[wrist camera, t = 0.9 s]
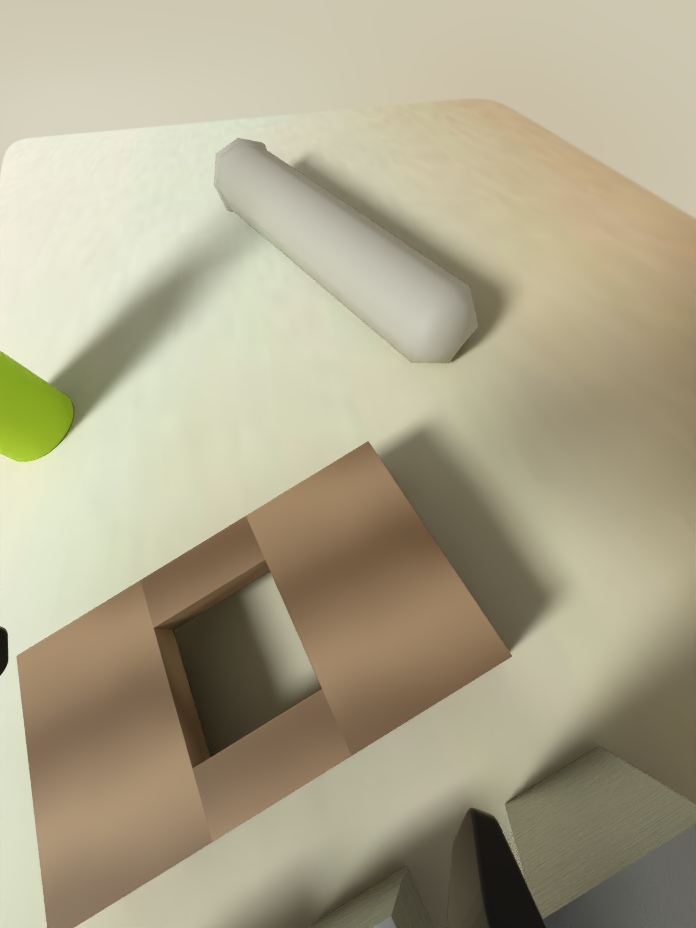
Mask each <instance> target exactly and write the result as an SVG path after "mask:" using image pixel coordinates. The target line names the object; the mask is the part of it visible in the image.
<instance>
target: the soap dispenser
mask: <svg viewBox="0 0 696 928" xmlns="http://www.w3.org/2000/svg"><path fill="white" fill-rule="evenodd" d="M73 414H74V409H73V404H72V402H71V400H70V398H69V397H68V396H66V395H65V394H63V393H62V392H60V391H59V390H58V389H56V388H55V387H53V386H52V385H50V384H49V383H47V382H46V381H44V380H43V379H41V378H40V377H38V376H37V375H35V374H34V373H32V372H31V371H29V370H28V369H26V368H25V367H23V366H22V365H20V364H19V363H18V362H16V361H15V360H13V359H12V358H10V357H9V356H7V355H6V354H4V353H3V352H1V351H0V454H3V455H5V456H7V457H9V458H11V459H14V460H16V461H20V462H27V461H32V460H35V459H38V458H40V457H42V456H44V455H46V454H47V453H49V452H50V451H51V450H52V449H54V448H55V447H56V446H57V445H58V444H59V443H60V442H61V440H62V439H63V438H64V436H65V435H66V433H67V432H68V430H69V428H70V425H71V423H72V420H73Z"/></svg>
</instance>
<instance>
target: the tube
mask: <svg viewBox="0 0 696 928" xmlns="http://www.w3.org/2000/svg"><path fill="white" fill-rule="evenodd" d="M214 186H215V188H216V190H217V192H218V194H219V196H220V198H221V199H222V201H223V203H224V205H225V207H226V209H227V210H228V211H230V212H235V213H236V214H238V215H239V216H240V217H241V218H242V219H243V220H245V221H246V222H247V223H248V224H249V225H251V226H252V227H253V228H254V229H255V230H256V231H258V232H259V233H260V234H261V235H262V236H263V237H265V238H266V239H267V240H268V241H269V242H270V243H272V244H273V245H274V246H275V247H276V248H277V249H279V250H280V251H281V252H282V253H283V254H285V255H286V256H287V257H288V258H289V259H290V260H292V261H293V262H294V263H295V264H296V265H297V266H299V267H300V268H301V269H302V270H303V271H304V272H306V273H307V274H308V275H309V276H310V277H311V278H313V279H314V280H315V281H316V282H317V283H319V284H320V285H321V286H322V287H323V288H324V289H326V290H327V291H328V292H329V293H330V294H331V295H333V296H334V297H335V298H336V299H337V300H338V301H340V302H341V303H342V304H343V305H344V306H345V307H347V308H348V309H349V310H350V311H351V312H352V313H354V314H355V315H356V316H357V317H358V318H360V319H361V320H362V321H363V322H364V323H365V324H367V325H368V326H369V327H370V328H371V329H372V330H374V331H375V332H376V333H377V334H378V335H379V336H381V337H382V338H383V339H384V340H385V341H386V342H388V343H389V344H390V345H391V346H392V347H394V348H395V349H396V350H397V351H398V352H399V353H401V354H402V355H403V356H404V357H405V358H406V359H408V360H409V361H410V362H411V363H449V362H450V361H451V360H452V358H453V357H454V356H455V354H456V353H457V352H458V351H459V349H460V348H461V347H462V345H463V344H464V343H465V342H466V341H467V339H468V338H469V337H470V336H471V335H472V333H473V332H474V331H475V330H476V329H477V328H478V322H477V316H476V311H475V306H474V302H473V297H472V293H471V289H470V286H468V285H467V284H465V283H464V282H462V281H461V280H459V279H458V278H456V277H455V276H453V275H452V274H450V273H449V272H447V271H446V270H444V269H443V268H441V267H440V266H438V265H437V264H435V263H434V262H433V261H431V260H430V259H428V258H427V257H425V256H424V255H422V254H421V253H419V252H418V251H416V250H415V249H413V248H412V247H410V246H409V245H407V244H406V243H404V242H403V241H401V240H400V239H398V238H397V237H395V236H394V235H392V234H391V233H389V232H388V231H386V230H385V229H383V228H382V227H380V226H379V225H377V224H376V223H374V222H373V221H371V220H370V219H368V218H367V217H366V216H364V215H363V214H361V213H360V212H358V211H357V210H355V209H354V208H352V207H351V206H349V205H348V204H346V203H345V202H343V201H342V200H340V199H339V198H337V197H336V196H334V195H333V194H331V193H330V192H328V191H327V190H325V189H324V188H322V187H321V186H319V185H318V184H316V183H315V182H313V181H312V180H310V179H309V178H307V177H306V176H304V175H303V174H302V173H300V172H299V171H297V170H296V169H294V168H293V167H291V166H290V165H288V164H287V163H285V162H284V161H282V160H281V159H279V158H278V157H276V156H275V155H273V154H272V153H270V152H269V151H267V149H266V146H265V144H263V143H261V142H256V141H251V140H246V139H241V138H237V139H236V140H234V141H233V142H232V143H230V144H229V145H228V146H226V147H225V148H223V149H222V150H221V151H219V152H218V153H216V161H215V176H214Z"/></svg>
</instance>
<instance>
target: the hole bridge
mask: <svg viewBox="0 0 696 928" xmlns="http://www.w3.org/2000/svg"><path fill="white" fill-rule="evenodd" d="M269 571H270V572H271V574H272V576H273V578H274V581H275V583H276V585H277V588H278V590H279V592H280V594H281V597H282V599H283V601H284V603H285V606H286V608H287V610H288V613H289V615H290V617H291V619H292V622H293V624H294V626H295V628H296V631H297V633H298V635H299V638H300V640H301V642H302V644H303V647H304V649H305V651H306V653H307V656H308V658H309V660H310V663H311V665H312V667H313V669H314V672H315V674H316V676H317V678H318V681H319V683H320V685H321V688H322V689H321V690H319V691H317V692H316V693H314V694H313V695H311V696H309V697H308V698H306V699H304V700H303V701H301V702H300V703H298V704H296V705H295V706H293V707H291V708H290V709H288V710H287V711H285V712H283V713H282V714H280V715H279V716H277V717H275V718H274V719H272V720H270V721H269V722H267V723H266V724H264V725H262V726H261V727H259V728H257V729H256V730H254V731H253V732H251V733H249V734H248V735H246V736H244V737H243V738H241V739H240V740H238V741H236V742H235V743H233V744H232V745H230V746H228V747H227V748H225V749H223V750H222V751H220V752H219V753H217V754H215V755H214V756H212V757H210V754H209V750H208V747H207V743H206V740H205V737H204V733H203V730H202V727H201V723H200V720H199V717H198V713H197V710H196V706H195V703H194V700H193V696H192V693H191V690H190V686H189V683H188V680H187V676H186V673H185V669H184V666H183V663H182V659H181V656H180V653H179V649H178V646H177V642H176V639H175V636H174V632H173V630H174V629H176V628H177V627H179V626H181V625H182V624H184V623H185V622H187V621H189V620H190V619H192V618H194V617H195V616H197V615H199V614H200V613H202V612H203V611H205V610H207V609H208V608H210V607H212V606H213V605H215V604H216V603H218V602H220V601H221V600H223V599H225V598H226V597H228V596H230V595H231V594H233V593H234V592H236V591H238V590H239V589H241V588H243V587H244V586H246V585H248V584H249V583H251V582H252V581H254V580H256V579H257V578H259V577H261V576H262V575H264V574H265V573H267V572H269ZM510 657H512V655H511V654H510V652H509V651H508V649H507V648H506V646H505V645H504V643H503V642H502V640H501V639H500V637H499V636H498V634H497V633H496V631H495V630H494V628H493V627H492V625H491V624H490V622H489V621H488V619H487V618H486V616H485V615H484V613H483V612H482V610H481V609H480V607H479V606H478V604H477V603H476V601H475V600H474V598H473V597H472V595H471V594H470V592H469V591H468V589H467V588H466V586H465V585H464V583H463V582H462V580H461V579H460V577H459V576H458V574H457V573H456V571H455V570H454V568H453V567H452V565H451V564H450V562H449V561H448V559H447V558H446V556H445V555H444V553H443V552H442V550H441V549H440V547H439V546H438V544H437V543H436V541H435V540H434V539H433V537H432V536H431V534H430V533H429V531H428V530H427V528H426V527H425V525H424V524H423V522H422V521H421V519H420V518H419V516H418V515H417V513H416V512H415V510H414V509H413V507H412V506H411V504H410V503H409V501H408V500H407V498H406V497H405V495H404V494H403V492H402V491H401V489H400V488H399V486H398V485H397V483H396V482H395V480H394V479H393V477H392V476H391V474H390V473H389V471H388V470H387V468H386V467H385V465H384V464H383V462H382V461H381V459H380V458H379V456H378V455H377V453H376V452H375V450H374V449H373V447H372V446H371V444H370V443H369V441H368V442H366V443H364V444H363V445H361V446H360V447H358V448H356V449H355V450H353V451H351V452H350V453H348V454H346V455H345V456H343V457H342V458H340V459H338V460H337V461H335V462H333V463H332V464H330V465H328V466H327V467H325V468H324V469H322V470H320V471H319V472H317V473H315V474H314V475H312V476H310V477H309V478H307V479H306V480H304V481H302V482H301V483H299V484H297V485H296V486H294V487H292V488H291V489H289V490H288V491H286V492H284V493H283V494H281V495H279V496H278V497H276V498H274V499H273V500H271V501H270V502H268V503H266V504H265V505H263V506H261V507H260V508H258V509H256V510H255V511H253V512H251V513H250V514H248V515H247V516H245V517H243V518H242V519H240V520H238V521H237V522H235V523H233V524H232V525H230V526H229V527H227V528H225V529H224V530H222V531H220V532H219V533H217V534H215V535H214V536H212V537H211V538H209V539H207V540H206V541H204V542H202V543H201V544H199V545H197V546H196V547H194V548H193V549H191V550H189V551H188V552H186V553H184V554H183V555H181V556H179V557H178V558H176V559H175V560H173V561H171V562H170V563H168V564H166V565H165V566H163V567H161V568H160V569H158V570H157V571H155V572H153V573H152V574H150V575H148V576H147V577H145V578H143V579H142V580H140V581H139V582H137V583H135V584H134V585H132V586H130V587H129V588H127V589H125V590H124V591H122V592H121V593H119V594H117V595H116V596H114V597H112V598H111V599H109V600H107V601H106V602H104V603H102V604H101V605H99V606H98V607H96V608H94V609H93V610H91V611H89V612H88V613H86V614H84V615H83V616H81V617H80V618H78V619H76V620H75V621H73V622H71V623H70V624H68V625H66V626H65V627H63V628H62V629H60V630H58V631H57V632H55V633H53V634H52V635H50V636H48V637H47V638H45V639H44V640H42V641H40V642H39V643H37V644H35V645H34V646H32V647H30V648H29V649H27V650H26V651H24V652H22V653H21V654H19V655H17V664H18V673H19V682H20V691H21V700H22V708H23V717H24V726H25V735H26V744H27V753H28V762H29V770H30V779H31V788H32V797H33V806H34V815H35V823H36V832H37V841H38V850H39V859H40V868H41V877H42V885H43V894H44V903H45V912H46V921H47V928H74V927H76V926H77V925H79V924H81V923H82V922H84V921H85V920H87V919H89V918H90V917H92V916H94V915H95V914H97V913H98V912H100V911H102V910H103V909H105V908H106V907H108V906H110V905H111V904H113V903H115V902H116V901H118V900H119V899H121V898H123V897H124V896H126V895H127V894H129V893H131V892H132V891H134V890H136V889H137V888H139V887H140V886H142V885H144V884H145V883H147V882H148V881H150V880H152V879H153V878H155V877H157V876H158V875H160V874H161V873H163V872H165V871H166V870H168V869H169V868H171V867H173V866H174V865H176V864H178V863H179V862H181V861H182V860H184V859H186V858H187V857H189V856H190V855H192V854H194V853H195V852H197V851H198V850H200V849H202V848H203V847H205V846H207V845H208V844H210V843H211V842H213V841H215V840H216V839H218V838H219V837H221V836H223V835H224V834H226V833H228V832H229V831H231V830H232V829H234V828H236V827H237V826H239V825H240V824H242V823H244V822H245V821H247V820H249V819H250V818H252V817H253V816H255V815H257V814H258V813H260V812H261V811H263V810H265V809H266V808H268V807H270V806H271V805H273V804H274V803H276V802H278V801H279V800H281V799H282V798H284V797H286V796H287V795H289V794H291V793H292V792H294V791H295V790H297V789H299V788H300V787H302V786H303V785H305V784H307V783H308V782H310V781H312V780H313V779H315V778H316V777H318V776H320V775H321V774H323V773H324V772H326V771H328V770H329V769H331V768H333V767H334V766H336V765H337V764H339V763H341V762H342V761H344V760H345V759H347V758H349V757H350V756H352V755H354V754H355V753H357V752H358V751H360V750H362V749H363V748H365V747H366V746H368V745H370V744H371V743H373V742H375V741H376V740H378V739H379V738H381V737H383V736H384V735H386V734H387V733H389V732H391V731H392V730H394V729H396V728H397V727H399V726H400V725H402V724H404V723H405V722H407V721H408V720H410V719H412V718H413V717H415V716H417V715H418V714H420V713H421V712H423V711H425V710H426V709H428V708H429V707H431V706H433V705H434V704H436V703H438V702H439V701H441V700H442V699H444V698H446V697H447V696H449V695H450V694H452V693H454V692H455V691H457V690H459V689H460V688H462V687H463V686H465V685H467V684H468V683H470V682H471V681H473V680H475V679H476V678H478V677H480V676H481V675H483V674H484V673H486V672H488V671H489V670H491V669H492V668H494V667H496V666H497V665H499V664H501V663H502V662H504V661H505V660H507V659H509V658H510Z"/></svg>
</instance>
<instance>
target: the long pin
mask: <svg viewBox="0 0 696 928" xmlns="http://www.w3.org/2000/svg"><path fill="white" fill-rule="evenodd" d="M505 807H506V810H507V814H508V817H509V821H510V825H511V828H512V832H513V835H514V839H515V842H516V846H517V850H518V853H519V857H520V860H521V864H522V867H523V871H524V875H525V878H526V882H527V885H528V888H529V890H530V892H531V895H532V897H533V899H534V901H535V903H536V905H537V908H538V910H539V912H540V914H541V916H542V919H543V921H544V923H545V925H546V927H547V928H696V804H695V803H693V802H691V801H690V800H688V799H686V798H685V797H683V796H681V795H680V794H678V793H676V792H675V791H673V790H671V789H670V788H668V787H666V786H665V785H663V784H662V783H660V782H658V781H657V780H655V779H653V778H652V777H650V776H648V775H647V774H645V773H643V772H642V771H640V770H638V769H637V768H635V767H633V766H632V765H630V764H629V763H627V762H625V761H624V760H622V759H620V758H619V757H617V756H615V755H614V754H612V753H610V752H609V751H607V750H605V749H604V748H602V747H600V746H598V747H596V748H594V749H593V750H591V751H590V752H588V753H586V754H585V755H583V756H582V757H580V758H578V759H577V760H575V761H573V762H572V763H570V764H569V765H567V766H565V767H564V768H562V769H561V770H559V771H557V772H556V773H554V774H553V775H551V776H549V777H548V778H546V779H545V780H543V781H541V782H540V783H538V784H537V785H535V786H533V787H532V788H530V789H529V790H527V791H525V792H524V793H522V794H520V795H519V796H517V797H516V798H514V799H512V800H511V801H509V802H508V803H506V804H505Z"/></svg>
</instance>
